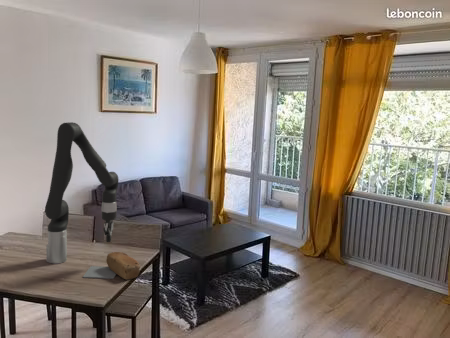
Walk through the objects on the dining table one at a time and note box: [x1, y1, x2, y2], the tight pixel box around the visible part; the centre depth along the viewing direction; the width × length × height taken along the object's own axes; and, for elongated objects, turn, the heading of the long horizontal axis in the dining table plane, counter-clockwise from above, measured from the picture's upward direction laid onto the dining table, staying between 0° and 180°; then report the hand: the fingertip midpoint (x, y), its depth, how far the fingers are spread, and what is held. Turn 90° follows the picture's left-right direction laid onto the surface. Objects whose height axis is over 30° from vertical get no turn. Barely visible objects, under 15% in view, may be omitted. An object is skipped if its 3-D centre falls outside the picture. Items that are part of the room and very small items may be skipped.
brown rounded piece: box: [105, 251, 141, 281], centre depth 193 cm, size 11×8×20 cm
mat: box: [82, 265, 117, 280], centre depth 191 cm, size 15×13×1 cm
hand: (108, 241), depth 199 cm, fingers closed
